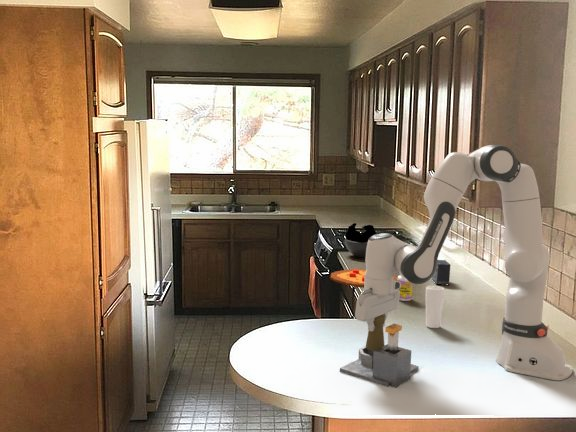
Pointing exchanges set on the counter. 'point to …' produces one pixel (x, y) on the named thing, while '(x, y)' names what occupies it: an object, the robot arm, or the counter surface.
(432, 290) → the drinking glass
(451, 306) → the counter surface
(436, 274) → the small box
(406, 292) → the supplement bottle
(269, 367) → the counter surface
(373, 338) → the cork
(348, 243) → the coal bowl
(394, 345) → the wedge pin
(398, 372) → the gray socket base
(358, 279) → the pizza
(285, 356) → the counter surface
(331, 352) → the counter surface
